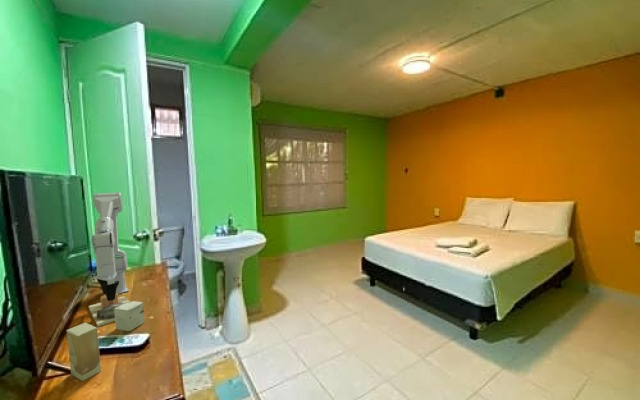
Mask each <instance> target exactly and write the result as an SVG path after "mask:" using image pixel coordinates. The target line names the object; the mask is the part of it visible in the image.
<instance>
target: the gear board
mask: <svg viewBox="0 0 640 400" xmlns="http://www.w3.org/2000/svg"><path fill="white" fill-rule="evenodd" d="M118 299H119V303H117V304H111V305H110V306H107V307H103V308H102V307H101V302H98V303H94V304H90V305H88V309H89V312H90V314H91V316H92V319H93V321H94V322H95V324H96V328H98V327H101V326H104V325H107V324H110V323H113V322H115V313H114V308H117V307H119V306H121V305H122V304H125V303H127V302H129V301H130V300H129V299H128V298H127V297H126V296H125V295H124V296H120V297H119V296H118Z"/></svg>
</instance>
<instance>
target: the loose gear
mask: <svg viewBox="0 0 640 400" xmlns="http://www.w3.org/2000/svg"><path fill="white" fill-rule="evenodd" d="M118 298H119V294H117V293H116V296H115V299H114V300H111V301H108V300H107V297H106V294H105V295H104V294H103V295H102V296H100V303H101V307H102V308H103V307H107V306H110V305H111V304H117V303H119V299H118Z"/></svg>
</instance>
